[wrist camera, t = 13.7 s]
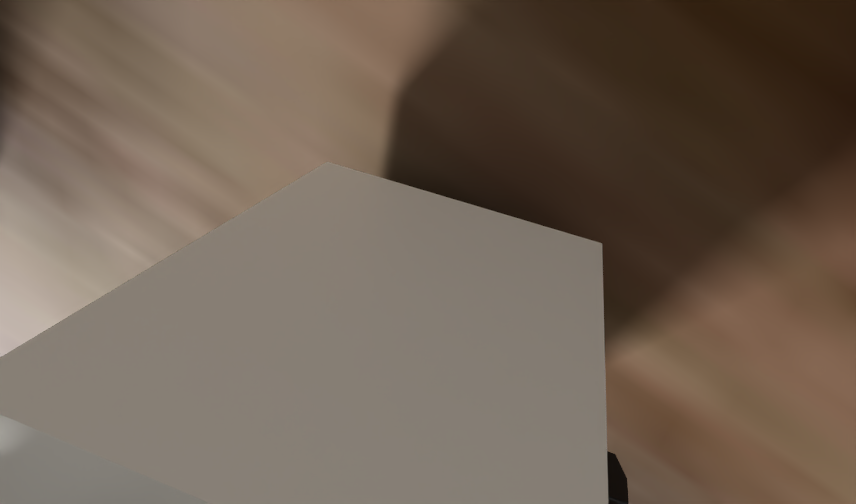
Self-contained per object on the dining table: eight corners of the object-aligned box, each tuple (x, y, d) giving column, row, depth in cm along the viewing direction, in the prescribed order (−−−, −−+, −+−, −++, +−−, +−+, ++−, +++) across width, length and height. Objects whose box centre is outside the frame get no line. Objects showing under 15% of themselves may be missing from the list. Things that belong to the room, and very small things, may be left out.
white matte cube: (327, 161, 13) (-55, 390, 5) (601, 243, 12) (612, 673, 4) (303, 370, 16) (43, 701, 9) (519, 450, 15) (440, 907, 8)
